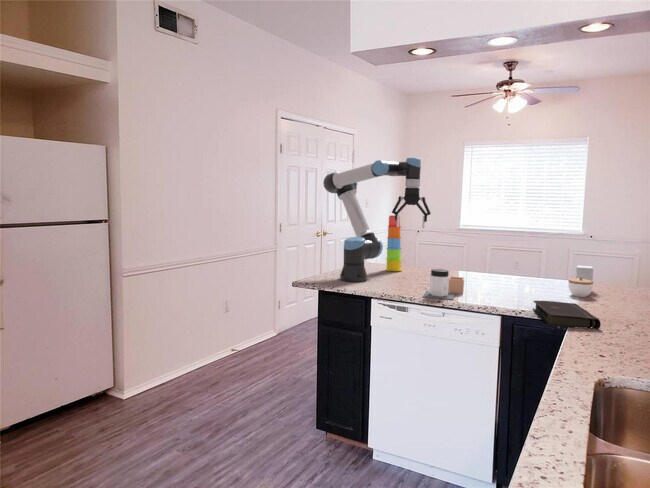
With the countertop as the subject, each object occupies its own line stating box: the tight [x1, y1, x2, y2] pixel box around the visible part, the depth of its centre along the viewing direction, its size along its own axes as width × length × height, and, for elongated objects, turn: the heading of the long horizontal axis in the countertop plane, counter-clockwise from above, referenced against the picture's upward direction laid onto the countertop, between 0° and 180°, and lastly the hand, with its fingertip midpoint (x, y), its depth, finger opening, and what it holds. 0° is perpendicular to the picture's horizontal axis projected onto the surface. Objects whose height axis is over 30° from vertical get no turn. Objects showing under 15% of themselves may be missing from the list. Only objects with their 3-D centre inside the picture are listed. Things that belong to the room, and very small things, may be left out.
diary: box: [532, 300, 602, 329], centre depth 188 cm, size 19×25×5 cm
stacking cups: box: [385, 215, 403, 272], centre depth 293 cm, size 10×10×35 cm
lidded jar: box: [568, 277, 594, 298], centre depth 232 cm, size 11×11×9 cm
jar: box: [429, 268, 450, 297], centre depth 225 cm, size 9×8×12 cm
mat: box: [422, 290, 456, 301], centre depth 226 cm, size 14×14×1 cm
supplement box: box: [575, 265, 594, 292], centre depth 244 cm, size 7×7×13 cm
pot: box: [448, 276, 465, 295], centre depth 235 cm, size 7×7×7 cm
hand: (410, 227), depth 251 cm, fingers open, 13 cm apart
